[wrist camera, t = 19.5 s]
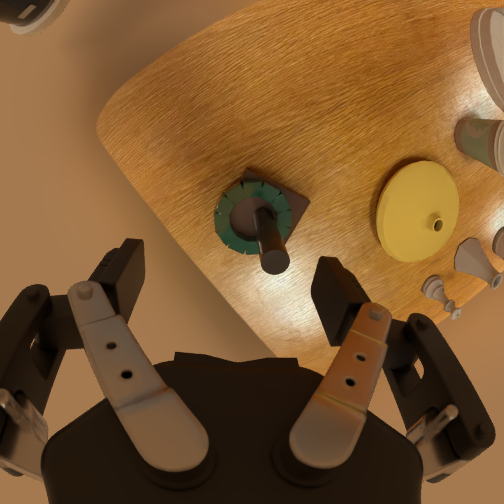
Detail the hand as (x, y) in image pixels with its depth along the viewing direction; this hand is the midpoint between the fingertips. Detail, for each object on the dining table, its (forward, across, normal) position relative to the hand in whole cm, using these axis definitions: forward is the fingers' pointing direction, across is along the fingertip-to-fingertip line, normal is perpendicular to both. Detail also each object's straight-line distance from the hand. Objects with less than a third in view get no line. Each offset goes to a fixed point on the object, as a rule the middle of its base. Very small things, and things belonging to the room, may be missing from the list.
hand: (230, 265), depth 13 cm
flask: (+24, -45, +8) cm, 52 cm away
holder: (+24, -5, +6) cm, 25 cm away
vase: (+24, -27, +1) cm, 36 cm away
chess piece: (+24, -39, +15) cm, 48 cm away
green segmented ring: (+22, -4, +6) cm, 23 cm away
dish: (+24, -45, -32) cm, 61 cm away
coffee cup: (+24, -35, -13) cm, 44 cm away
